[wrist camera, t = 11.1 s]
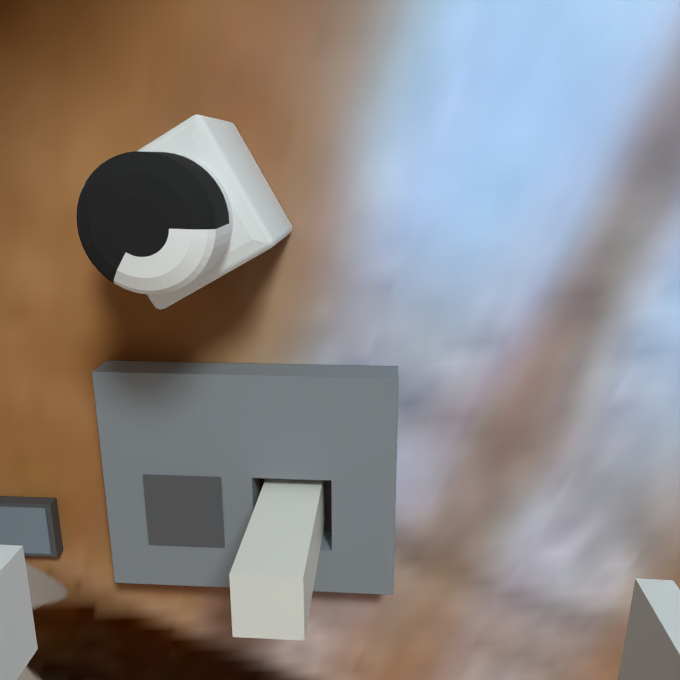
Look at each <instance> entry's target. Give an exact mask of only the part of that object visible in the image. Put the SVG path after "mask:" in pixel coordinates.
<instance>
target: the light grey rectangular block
mask: <svg viewBox="0 0 680 680" xmlns="http://www.w3.org/2000/svg"><path fill="white" fill-rule="evenodd" d="M324 523H325V517H324V480H302V479H271V478H266V479H265V481H264V484H263V487H262V489H261V492H260V495H259V497H258V500H257V502H256V505H255V508H254V510H253V513H252V516H251V518H250V521H249V524H248V526H247V529H246V532H245V534H244V537H243V539H242V542H241V545H240V547H239V550H238V553H237V555H236V558H235V561H234V563H233V566H232V568H231V571H230V574H229V579H230V597H231V616H232V634H233V637H243V638H264V639H284V640H305V635H306V629H307V623H308V617H309V611H310V605H311V599H312V594H313V588H314V582H315V576H316V570H317V564H318V558H319V552H320V547H321V541H322V535H323V529H324Z"/></svg>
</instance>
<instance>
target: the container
mask: <svg viewBox="0 0 680 680" xmlns="http://www.w3.org/2000/svg"><path fill="white" fill-rule="evenodd" d="M77 227H78V233H79V237H80V240H81V243H82V246H83V248H84V250H85V252H86V254H87V256H88V257H89V259H90V260H91V262H92V263H93V265H94V266H95V267H96V268H97V269H98V271H99V272H100V273H102V274H103V275H104V276H105V277H106V278H107V279H109V280H110V281H111V282H113V283H114V284H116V285H118V286H120V287H122V288H124V289H126V290H129V291H132V292H136V293H140V294H147V296H148V297H149V299H150V300H151V302H152V303H153V305H154V306H155V307H156V308H157V309H165V308H167V307H168V306H170V305H172V304H174V303H175V302H177V301H179V300H181V299H182V298H184V297H186V296H188V295H190V294H191V293H193V292H195V291H197V290H198V289H200V288H202V287H204V286H205V285H207V284H209V283H211V282H212V281H214V280H216V279H218V278H220V277H221V276H223V275H225V274H227V273H228V272H230V271H232V270H234V269H235V268H237V267H239V266H241V265H242V264H244V263H246V262H248V261H249V260H251V259H253V258H255V257H257V256H258V255H260V254H262V253H264V252H265V251H267V250H269V249H271V248H272V247H273V246H275V245H276V244H277V243H278V242H280V241H281V240H282V239H284V238H285V237H286V236H287V235H289V234H290V233H291V232H292V225H291V223H290V222H289V220H288V218H287V216H286V215H285V213H284V211H283V209H282V208H281V206H280V204H279V202H278V200H277V199H276V197H275V195H274V193H273V192H272V190H271V188H270V186H269V185H268V183H267V181H266V179H265V178H264V176H263V174H262V172H261V171H260V169H259V167H258V165H257V164H256V162H255V160H254V158H253V157H252V155H251V153H250V151H249V150H248V148H247V146H246V144H245V142H244V141H243V139H242V137H241V135H240V134H239V132H238V130H237V128H236V127H235V125H234V124H233V123H231V122H228V121H223V120H219V119H215V118H210V117H206V116H202V115H194V116H192V117H190V118H189V119H187V120H186V121H184V122H182V123H181V124H179V125H178V126H176V127H174V128H173V129H171V130H170V131H168V132H167V133H165V134H163V135H162V136H160V137H159V138H157V139H155V140H154V141H152V142H151V143H149V144H147V145H146V146H144V147H143V148H141V149H140V150H138V151H135V152H128V153H124V154H120V155H117V156H115V157H113V158H111V159H109V160H107V161H106V162H104V163H103V164H101V165H100V166H99V167H98V168H97V169H96V170H95V171H94V172H93V173H92V174H91V175H90V177H89V178H88V179H87V181H86V183H85V184H84V186H83V187H82V191H81V194H80V197H79V201H78V206H77Z"/></svg>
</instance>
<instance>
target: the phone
mask: <svg viewBox="0 0 680 680" xmlns="http://www.w3.org/2000/svg"><path fill="white" fill-rule="evenodd" d="M0 545H18V546H23V550H24V556H42V557H58V556H59V555H60V553H61V552H62V551H63V545H62V538H61V530H60V523H59V515H58V508H57V500H56V498H37V497H8V496H0Z"/></svg>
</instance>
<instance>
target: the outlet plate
mask: <svg viewBox="0 0 680 680" xmlns="http://www.w3.org/2000/svg"><path fill="white" fill-rule="evenodd" d="M92 376H93V385H94V394H95V404H96V413H97V422H98V431H99V440H100V449H101V459H102V468H103V477H104V486H105V495H106V505H107V514H108V523H109V532H110V541H111V550H112V560H113V569H114V578H115V583H134V584H157V585H180V586H203V587H226V588H230V579H229V574H230V571H231V568H232V566H233V563H234V561H235V558H236V555H237V553H238V550H239V547H240V545H241V542H242V539H243V537H244V534H245V532H246V529H247V526H248V524H249V521H250V518H251V516H252V513H253V510H254V508H255V505H256V502H257V500H258V497H259V495H260V483H259V478H271V479H302V480H331V485H332V531H323V535H322V541H321V547H320V552H319V558H318V564H317V570H316V576H315V582H314V588H313V591H318V592H341V593H364V594H387V595H393V582H394V542H395V501H396V461H397V420H398V379H399V378H398V366H355V365H305V364H256V363H206V362H157V361H106V362H105V363H104V364H102V365H101V366H100V367H98V368H97V369H95V370H94V371H93V372H92Z"/></svg>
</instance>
